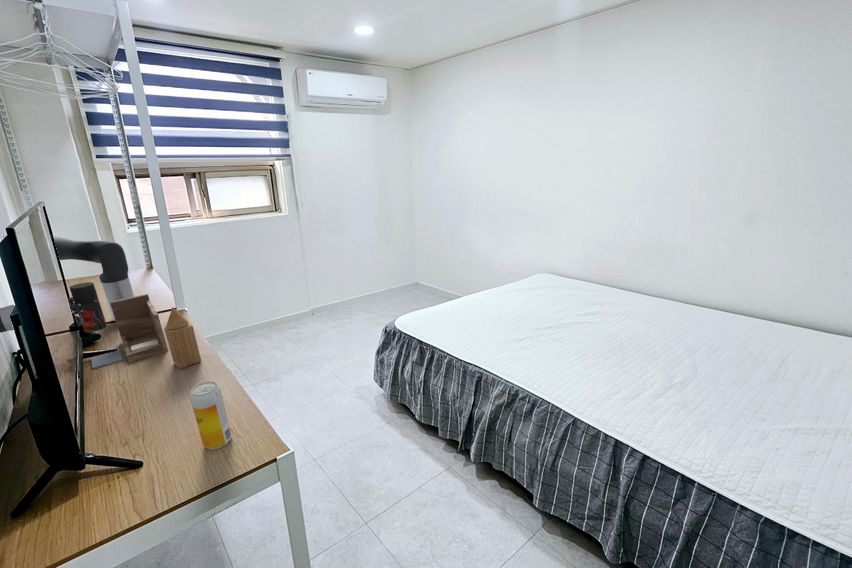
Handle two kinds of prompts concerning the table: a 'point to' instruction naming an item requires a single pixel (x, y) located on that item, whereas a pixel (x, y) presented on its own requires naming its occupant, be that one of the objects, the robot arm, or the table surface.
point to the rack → (138, 324)
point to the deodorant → (90, 317)
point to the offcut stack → (144, 345)
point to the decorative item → (181, 340)
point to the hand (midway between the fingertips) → (96, 301)
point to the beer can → (210, 415)
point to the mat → (106, 359)
